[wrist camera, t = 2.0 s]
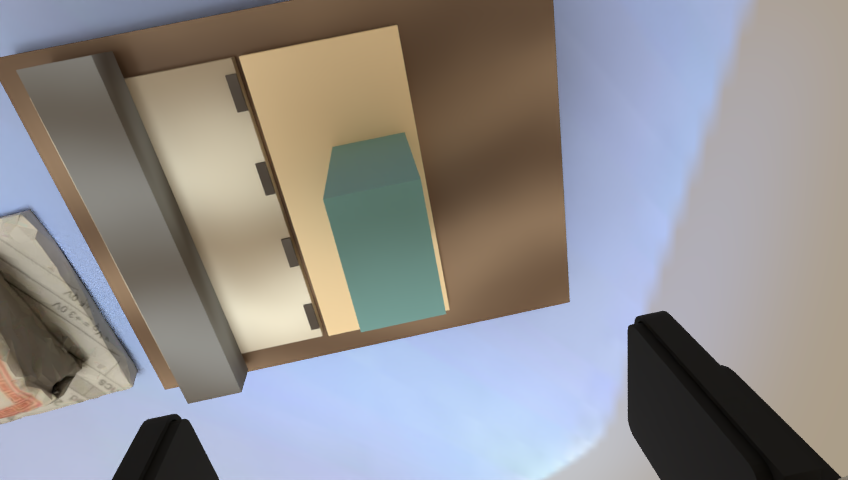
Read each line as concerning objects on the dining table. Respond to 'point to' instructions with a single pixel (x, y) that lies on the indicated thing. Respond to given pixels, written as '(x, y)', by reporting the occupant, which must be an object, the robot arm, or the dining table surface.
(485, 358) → the dining table surface
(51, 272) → the packaged product
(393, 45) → the teal block on plate
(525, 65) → the ticket board
